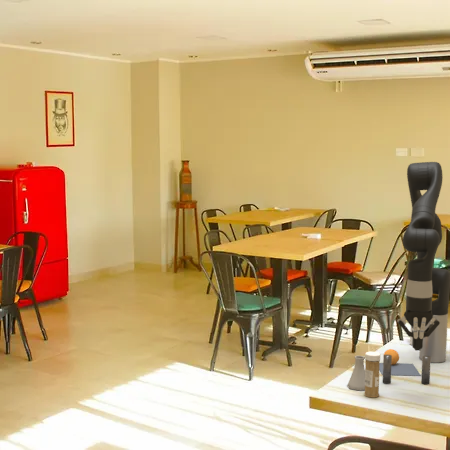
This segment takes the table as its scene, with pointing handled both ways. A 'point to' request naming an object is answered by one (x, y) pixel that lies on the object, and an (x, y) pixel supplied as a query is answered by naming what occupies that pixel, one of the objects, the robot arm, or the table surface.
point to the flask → (358, 375)
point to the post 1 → (387, 369)
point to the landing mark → (401, 369)
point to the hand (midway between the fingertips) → (417, 349)
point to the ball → (394, 355)
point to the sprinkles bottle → (372, 374)
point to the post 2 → (426, 370)
